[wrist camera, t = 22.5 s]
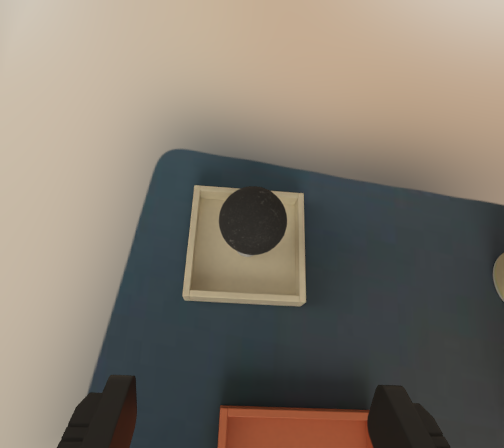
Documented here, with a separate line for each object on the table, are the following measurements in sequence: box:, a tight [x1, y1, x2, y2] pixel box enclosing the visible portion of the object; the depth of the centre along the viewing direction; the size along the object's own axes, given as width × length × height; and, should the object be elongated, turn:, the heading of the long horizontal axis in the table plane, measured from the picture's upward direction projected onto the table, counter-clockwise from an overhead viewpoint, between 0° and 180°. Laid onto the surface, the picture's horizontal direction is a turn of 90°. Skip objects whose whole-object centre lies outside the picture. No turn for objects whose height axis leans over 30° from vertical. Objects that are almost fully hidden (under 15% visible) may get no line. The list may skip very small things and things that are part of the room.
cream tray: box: [183, 185, 306, 306], centre depth 35 cm, size 11×11×2 cm
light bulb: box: [219, 187, 287, 257], centre depth 31 cm, size 6×6×10 cm
